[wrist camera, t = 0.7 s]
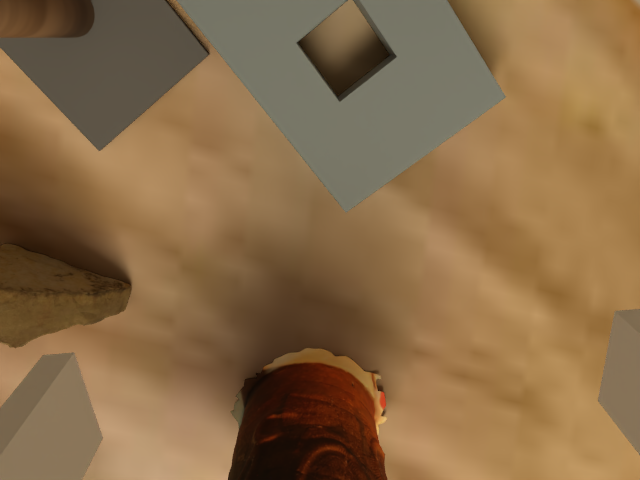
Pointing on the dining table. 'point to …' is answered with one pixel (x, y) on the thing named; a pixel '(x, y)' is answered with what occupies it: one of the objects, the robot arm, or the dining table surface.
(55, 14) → the peg
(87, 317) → the rock
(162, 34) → the mat
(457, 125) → the block
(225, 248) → the dining table surface
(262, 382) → the vessel
